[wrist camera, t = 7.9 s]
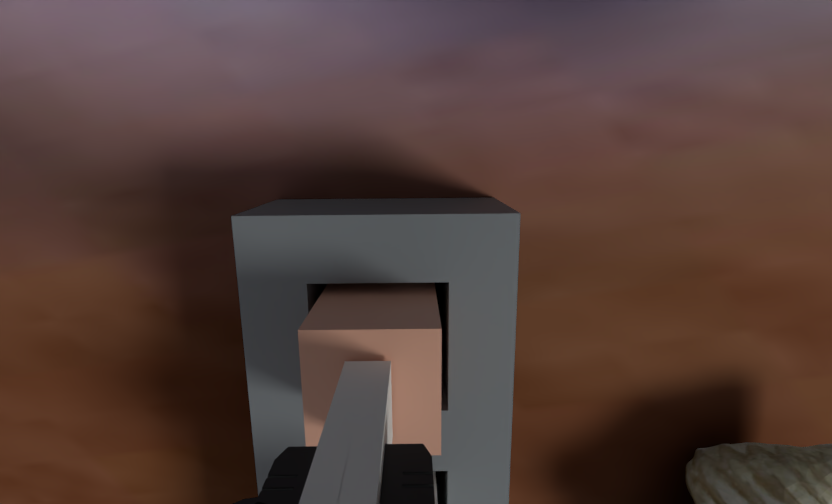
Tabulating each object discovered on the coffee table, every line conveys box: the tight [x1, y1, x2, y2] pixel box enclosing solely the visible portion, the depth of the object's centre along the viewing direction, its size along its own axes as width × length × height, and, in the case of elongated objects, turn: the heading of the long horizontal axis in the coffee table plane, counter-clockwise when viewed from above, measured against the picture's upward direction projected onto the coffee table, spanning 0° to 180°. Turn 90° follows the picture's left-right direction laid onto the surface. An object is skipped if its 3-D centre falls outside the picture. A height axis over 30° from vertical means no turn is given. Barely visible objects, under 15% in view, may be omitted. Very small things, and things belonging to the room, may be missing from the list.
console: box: [231, 197, 520, 504], centre depth 23 cm, size 28×11×6 cm, turn 1°
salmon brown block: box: [298, 282, 442, 455], centre depth 19 cm, size 5×5×7 cm
